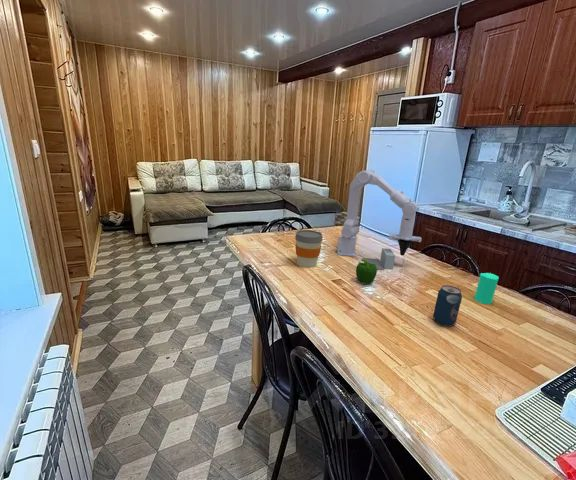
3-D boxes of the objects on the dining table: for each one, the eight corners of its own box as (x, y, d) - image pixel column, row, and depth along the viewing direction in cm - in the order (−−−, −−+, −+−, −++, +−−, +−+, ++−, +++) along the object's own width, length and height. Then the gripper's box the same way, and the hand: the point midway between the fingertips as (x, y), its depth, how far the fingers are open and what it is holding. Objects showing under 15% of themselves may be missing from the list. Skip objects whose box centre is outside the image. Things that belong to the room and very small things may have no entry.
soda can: (454, 330, 100) (462, 296, 96) (430, 322, 103) (438, 289, 99) (456, 320, 105) (464, 288, 102) (434, 313, 109) (440, 282, 105)
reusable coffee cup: (289, 265, 144) (291, 234, 139) (298, 257, 155) (300, 228, 150) (315, 271, 139) (318, 239, 135) (323, 262, 151) (326, 232, 146)
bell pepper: (378, 282, 132) (382, 260, 129) (369, 288, 126) (372, 265, 123) (361, 276, 137) (364, 254, 134) (351, 281, 131) (354, 259, 128)
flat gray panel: (366, 268, 145) (366, 268, 145) (362, 258, 159) (362, 257, 159) (384, 270, 145) (384, 269, 145) (378, 259, 158) (378, 259, 158)
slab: (384, 269, 147) (386, 255, 145) (380, 261, 156) (382, 248, 154) (392, 269, 146) (395, 255, 144) (388, 262, 156) (390, 248, 154)
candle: (489, 298, 123) (497, 270, 119) (493, 305, 117) (502, 276, 114) (472, 295, 124) (479, 267, 121) (475, 302, 119) (483, 273, 115)
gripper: (393, 228, 142) (388, 256, 146) (425, 230, 141) (420, 258, 145) (389, 224, 148) (385, 251, 153) (420, 226, 148) (415, 253, 152)
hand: (402, 254), depth 149 cm, fingers closed
